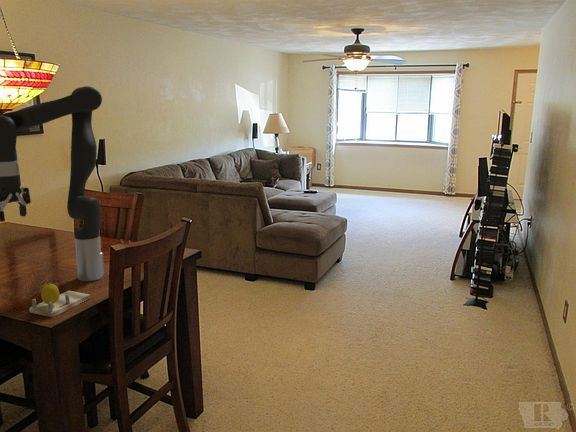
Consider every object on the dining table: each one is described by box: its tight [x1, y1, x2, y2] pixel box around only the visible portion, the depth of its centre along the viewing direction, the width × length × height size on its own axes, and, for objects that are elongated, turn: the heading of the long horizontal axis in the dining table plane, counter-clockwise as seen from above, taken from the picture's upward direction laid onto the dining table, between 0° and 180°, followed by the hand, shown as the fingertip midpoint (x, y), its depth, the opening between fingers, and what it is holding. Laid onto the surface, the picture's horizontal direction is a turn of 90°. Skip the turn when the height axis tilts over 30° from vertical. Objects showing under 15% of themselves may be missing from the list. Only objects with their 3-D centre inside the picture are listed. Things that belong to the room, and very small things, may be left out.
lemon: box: [40, 282, 60, 305], centre depth 161 cm, size 6×6×8 cm
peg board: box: [29, 290, 91, 318], centre depth 166 cm, size 17×10×4 cm, turn 159°
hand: (12, 218), depth 170 cm, fingers open, 8 cm apart
